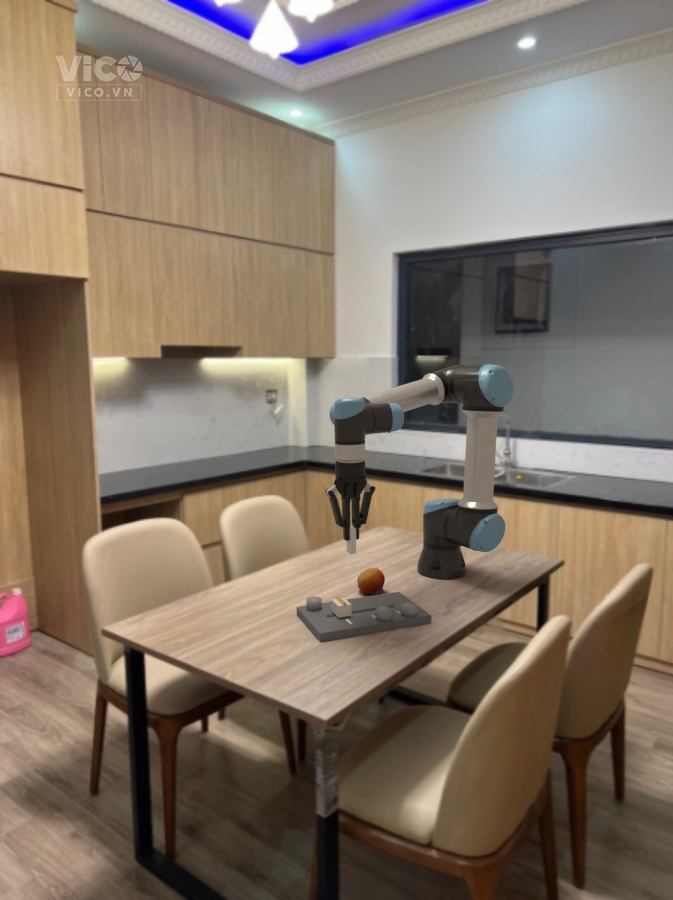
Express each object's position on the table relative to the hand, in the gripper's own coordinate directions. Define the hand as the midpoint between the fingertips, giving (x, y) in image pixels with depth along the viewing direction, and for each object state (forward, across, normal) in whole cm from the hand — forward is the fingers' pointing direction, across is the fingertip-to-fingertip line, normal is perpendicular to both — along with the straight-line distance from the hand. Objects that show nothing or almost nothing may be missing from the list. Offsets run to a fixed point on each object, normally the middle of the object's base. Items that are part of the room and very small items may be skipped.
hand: (351, 552), depth 163 cm
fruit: (+19, -13, -17) cm, 28 cm away
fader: (+16, +3, 0) cm, 16 cm away
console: (+18, -3, 0) cm, 18 cm away
